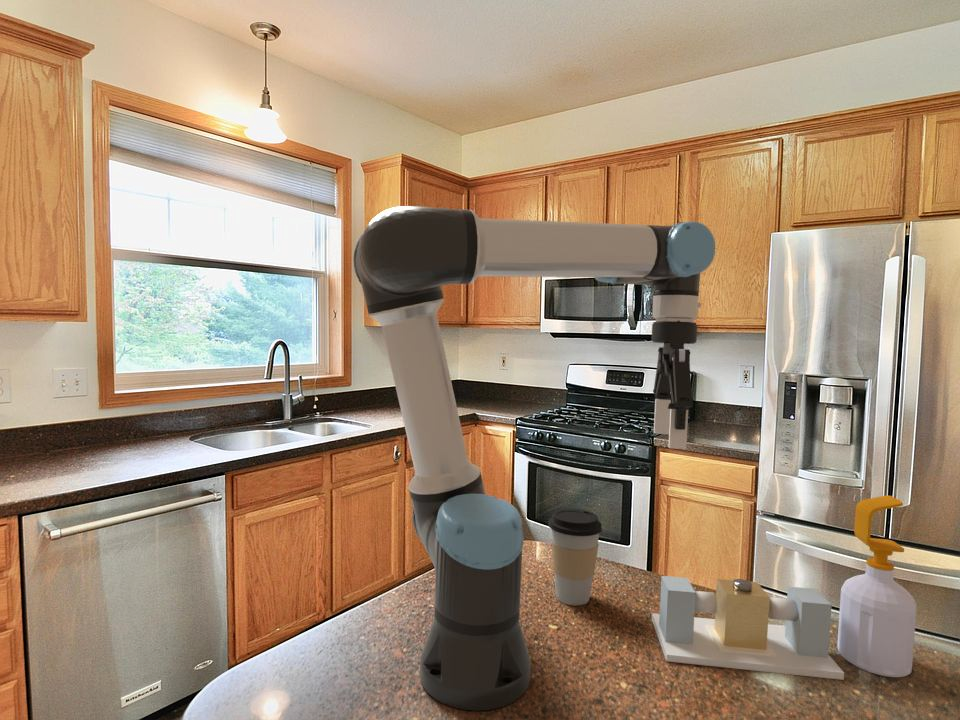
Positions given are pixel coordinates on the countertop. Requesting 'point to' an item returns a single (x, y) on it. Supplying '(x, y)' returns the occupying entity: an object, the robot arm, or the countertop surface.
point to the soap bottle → (877, 605)
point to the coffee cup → (574, 553)
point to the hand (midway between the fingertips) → (668, 440)
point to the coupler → (742, 614)
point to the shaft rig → (787, 648)
